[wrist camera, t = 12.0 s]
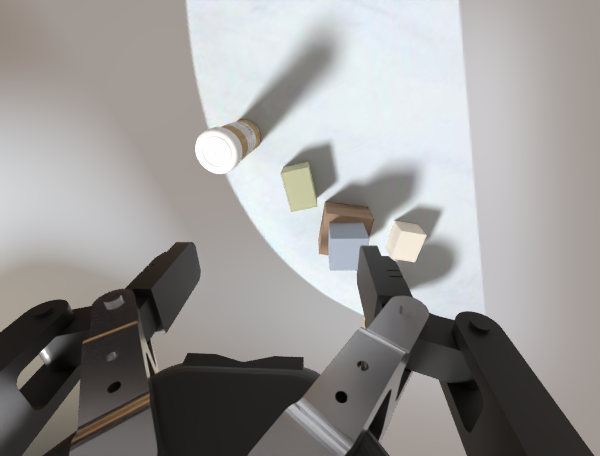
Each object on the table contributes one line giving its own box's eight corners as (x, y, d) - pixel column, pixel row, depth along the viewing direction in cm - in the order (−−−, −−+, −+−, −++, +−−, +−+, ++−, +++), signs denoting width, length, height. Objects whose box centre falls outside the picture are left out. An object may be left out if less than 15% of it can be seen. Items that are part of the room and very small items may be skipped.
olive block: (283, 166, 41) (280, 173, 37) (309, 161, 40) (308, 167, 37) (292, 202, 44) (291, 211, 40) (316, 197, 43) (317, 206, 39)
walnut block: (324, 201, 43) (326, 213, 39) (367, 206, 43) (373, 219, 39) (318, 238, 46) (319, 253, 42) (358, 243, 46) (363, 259, 42)
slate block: (328, 222, 39) (330, 238, 35) (362, 222, 39) (369, 238, 35) (328, 251, 42) (329, 270, 37) (360, 251, 41) (366, 270, 37)
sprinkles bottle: (224, 131, 39) (184, 147, 27) (247, 112, 38) (216, 119, 26) (244, 157, 41) (215, 183, 28) (267, 139, 39) (247, 158, 27)
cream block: (394, 220, 44) (401, 230, 40) (417, 224, 44) (426, 235, 41) (384, 245, 46) (390, 258, 43) (407, 249, 46) (414, 262, 43)
